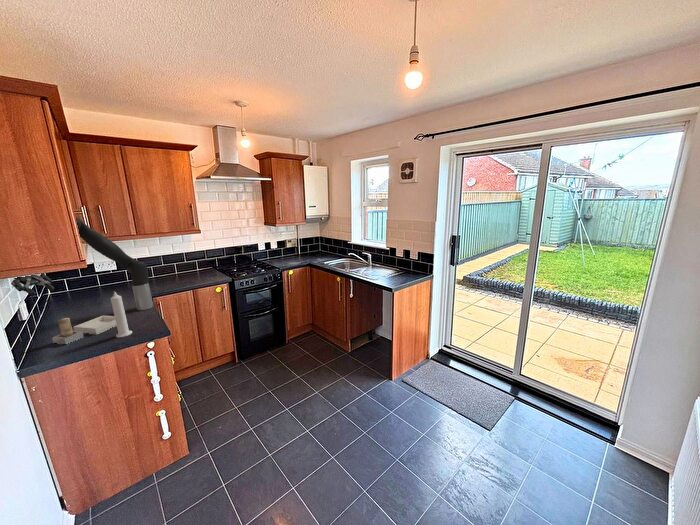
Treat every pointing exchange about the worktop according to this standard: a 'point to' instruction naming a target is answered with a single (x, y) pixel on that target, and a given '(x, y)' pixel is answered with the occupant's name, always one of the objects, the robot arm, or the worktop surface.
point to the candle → (120, 316)
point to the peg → (65, 327)
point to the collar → (68, 338)
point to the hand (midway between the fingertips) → (43, 292)
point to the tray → (97, 325)
